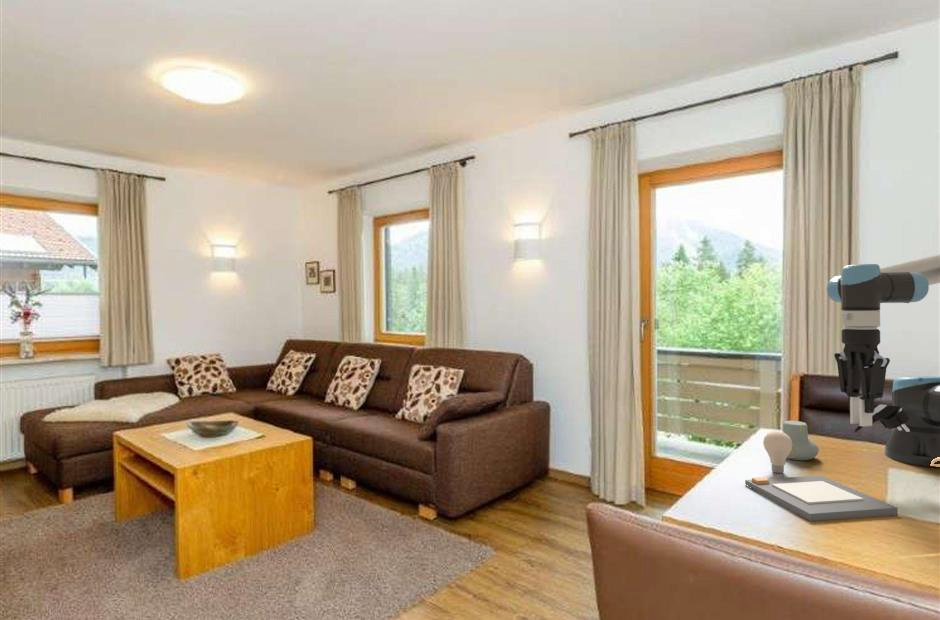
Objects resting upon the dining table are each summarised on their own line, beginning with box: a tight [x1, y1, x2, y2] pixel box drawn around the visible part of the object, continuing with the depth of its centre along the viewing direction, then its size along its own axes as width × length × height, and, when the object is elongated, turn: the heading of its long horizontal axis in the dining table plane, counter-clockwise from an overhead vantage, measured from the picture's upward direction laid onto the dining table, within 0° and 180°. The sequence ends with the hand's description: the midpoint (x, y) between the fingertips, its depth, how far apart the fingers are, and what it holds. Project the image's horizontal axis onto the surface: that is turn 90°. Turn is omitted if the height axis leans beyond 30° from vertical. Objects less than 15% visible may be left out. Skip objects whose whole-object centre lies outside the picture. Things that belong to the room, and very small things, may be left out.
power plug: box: [853, 404, 910, 433], centre depth 126 cm, size 6×8×12 cm
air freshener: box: [782, 420, 820, 461], centre depth 146 cm, size 11×8×10 cm
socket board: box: [744, 474, 899, 522], centre depth 116 cm, size 20×20×2 cm
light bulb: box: [762, 430, 792, 474], centre depth 133 cm, size 7×7×11 cm
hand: (861, 424), depth 126 cm, fingers closed on power plug, 2 cm apart
